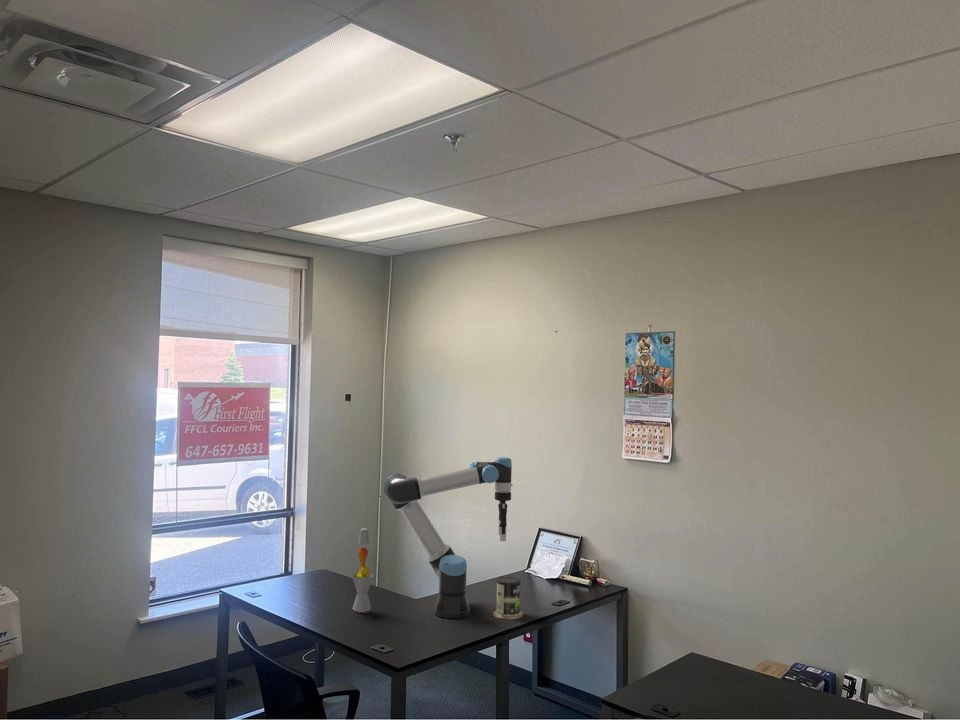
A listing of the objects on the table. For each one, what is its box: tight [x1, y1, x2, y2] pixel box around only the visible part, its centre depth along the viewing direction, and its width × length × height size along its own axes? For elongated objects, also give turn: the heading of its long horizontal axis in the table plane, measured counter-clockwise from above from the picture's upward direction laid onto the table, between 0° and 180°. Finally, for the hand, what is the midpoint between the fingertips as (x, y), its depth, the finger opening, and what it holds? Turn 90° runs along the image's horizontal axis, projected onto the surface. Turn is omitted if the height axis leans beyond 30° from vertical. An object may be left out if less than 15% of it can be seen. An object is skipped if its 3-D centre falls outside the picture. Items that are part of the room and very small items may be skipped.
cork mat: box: [492, 610, 524, 621], centre depth 299 cm, size 13×13×1 cm
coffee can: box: [495, 576, 521, 617], centre depth 300 cm, size 10×10×14 cm
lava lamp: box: [351, 527, 374, 612], centre depth 302 cm, size 9×9×35 cm
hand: (502, 538), depth 320 cm, fingers open, 13 cm apart
